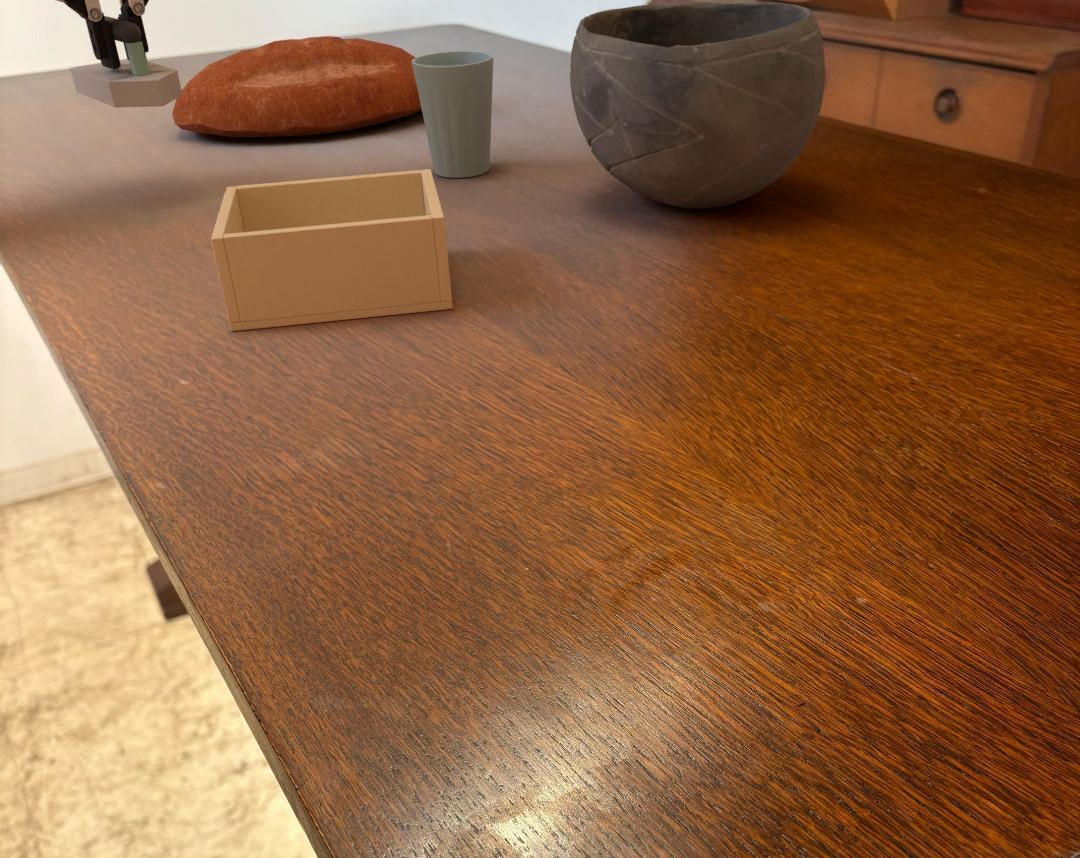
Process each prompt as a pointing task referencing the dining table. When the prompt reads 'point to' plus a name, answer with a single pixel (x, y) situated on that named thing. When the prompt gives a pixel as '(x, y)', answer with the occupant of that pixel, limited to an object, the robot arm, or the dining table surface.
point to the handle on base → (128, 75)
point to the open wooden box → (331, 249)
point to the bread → (300, 89)
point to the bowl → (698, 96)
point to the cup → (456, 110)
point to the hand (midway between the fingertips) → (124, 63)
